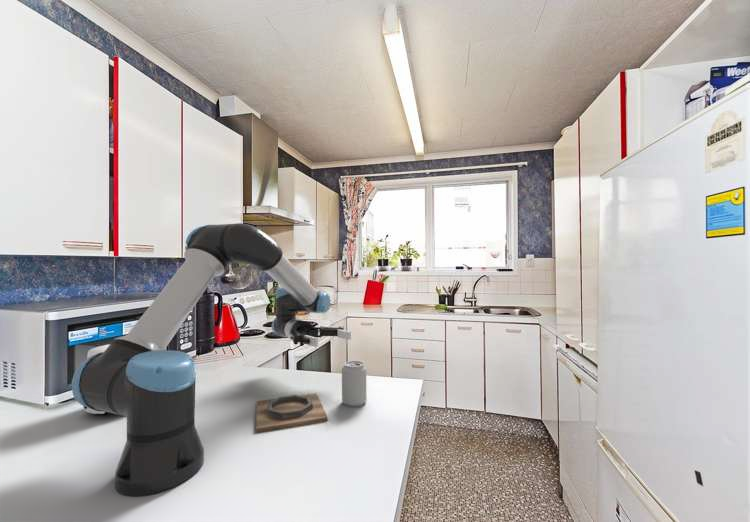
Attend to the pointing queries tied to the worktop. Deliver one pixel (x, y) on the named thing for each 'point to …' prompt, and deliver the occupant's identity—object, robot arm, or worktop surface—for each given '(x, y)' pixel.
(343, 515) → the worktop surface
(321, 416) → the ring board
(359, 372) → the can
